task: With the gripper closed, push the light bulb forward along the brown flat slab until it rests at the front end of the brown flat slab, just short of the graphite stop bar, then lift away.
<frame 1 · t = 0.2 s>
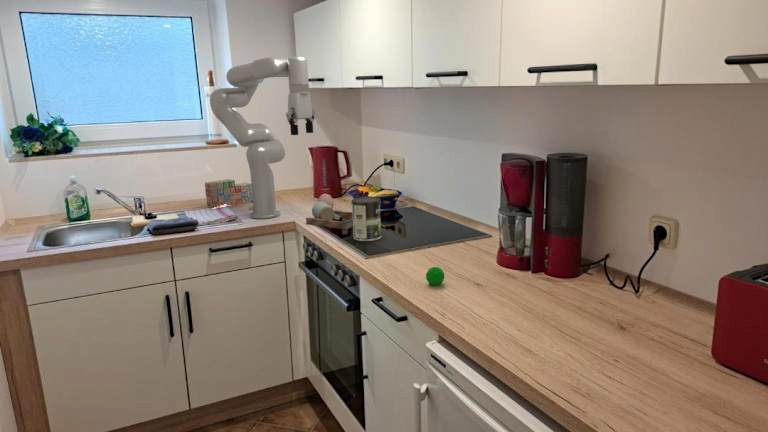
hand: (302, 133, 216), 36 cm above the worktop, tool pointing down, fingers open, 9 cm apart
winch post: (369, 218, 227), on the worktop
light bulb: (327, 221, 225), on the worktop
green ball: (435, 285, 149), on the worktop
brown flat slab: (338, 222, 222), on the worktop
egg: (326, 212, 240), on the worktop
coffee can: (367, 238, 198), on the worktop
stack of blocks: (231, 205, 263), on the worktop
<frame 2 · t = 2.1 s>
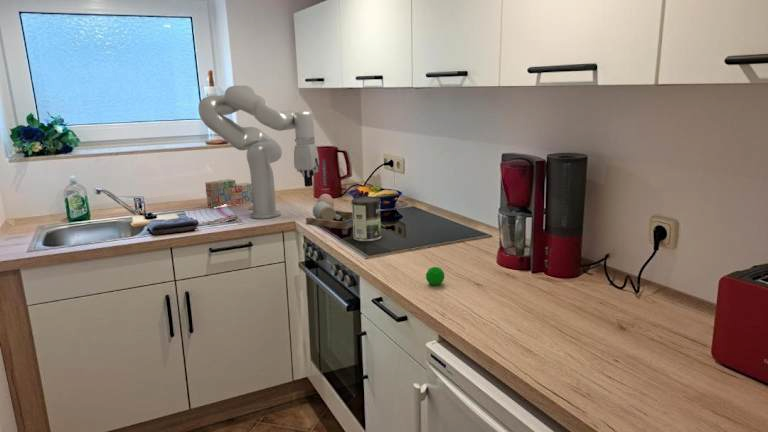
hand: (308, 186, 227), 14 cm above the worktop, tool pointing down, fingers closed
nothing on the worktop moved.
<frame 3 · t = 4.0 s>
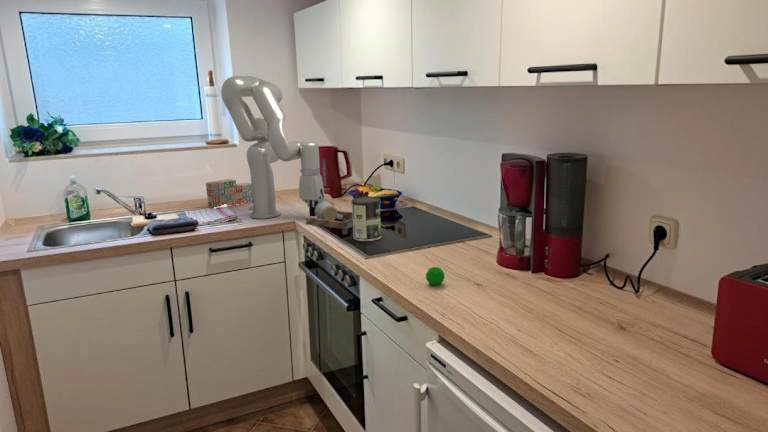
hand: (313, 215, 229), 1 cm above the worktop, tool pointing down, fingers closed
light bulb: (329, 220, 226), on the worktop, touching gripper
everything else where it was.
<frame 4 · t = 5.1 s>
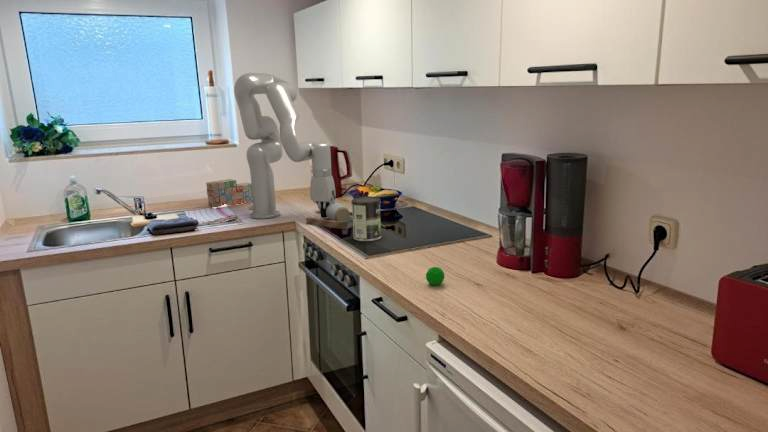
hand: (324, 217, 226), 1 cm above the worktop, tool pointing down, fingers closed
light bulb: (341, 222, 223), on the worktop, touching gripper
everything else where it was.
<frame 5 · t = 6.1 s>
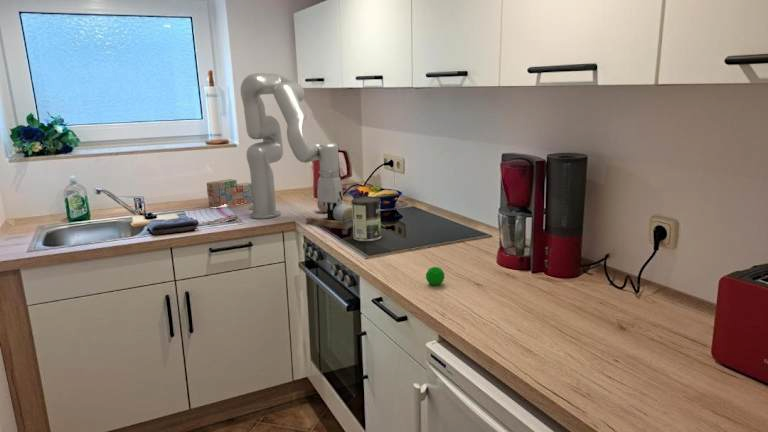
hand: (331, 218, 224), 1 cm above the worktop, tool pointing down, fingers closed
light bulb: (348, 223, 221), on the worktop, touching brown flat slab, gripper
everything else where it was.
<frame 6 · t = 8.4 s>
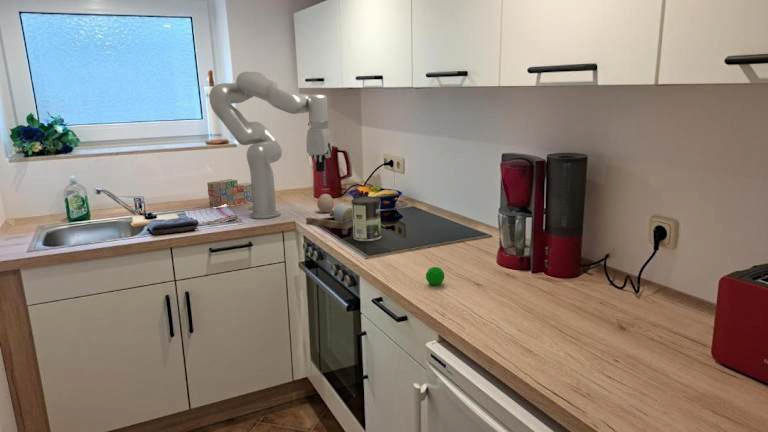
hand: (320, 171, 223), 20 cm above the worktop, tool pointing down, fingers closed
light bulb: (348, 223, 221), on the worktop
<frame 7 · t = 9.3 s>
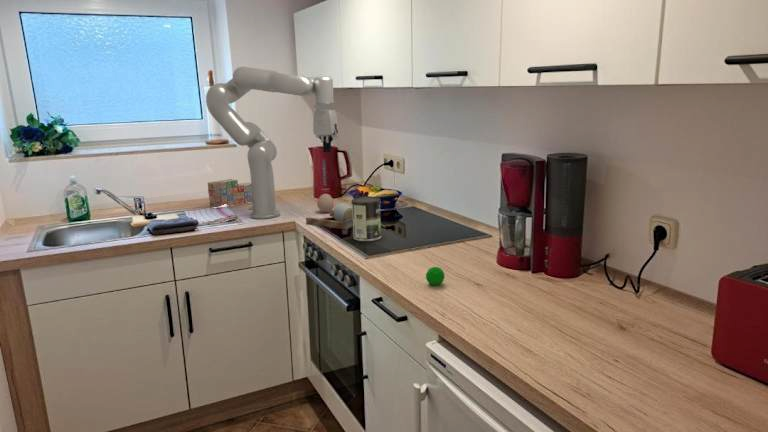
hand: (327, 151, 229), 27 cm above the worktop, tool pointing down, fingers closed
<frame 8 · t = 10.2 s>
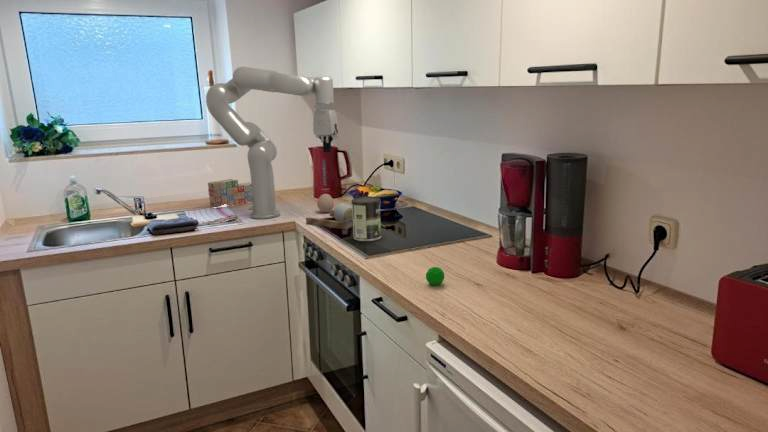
hand: (327, 151, 229), 27 cm above the worktop, tool pointing down, fingers closed
light bulb: (349, 223, 221), on the worktop, touching brown flat slab
at the end: light bulb inside the target area (1.7 cm from its centre), on the worktop; light bulb tilted 0°; light bulb moved 10.4 cm from its start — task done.
